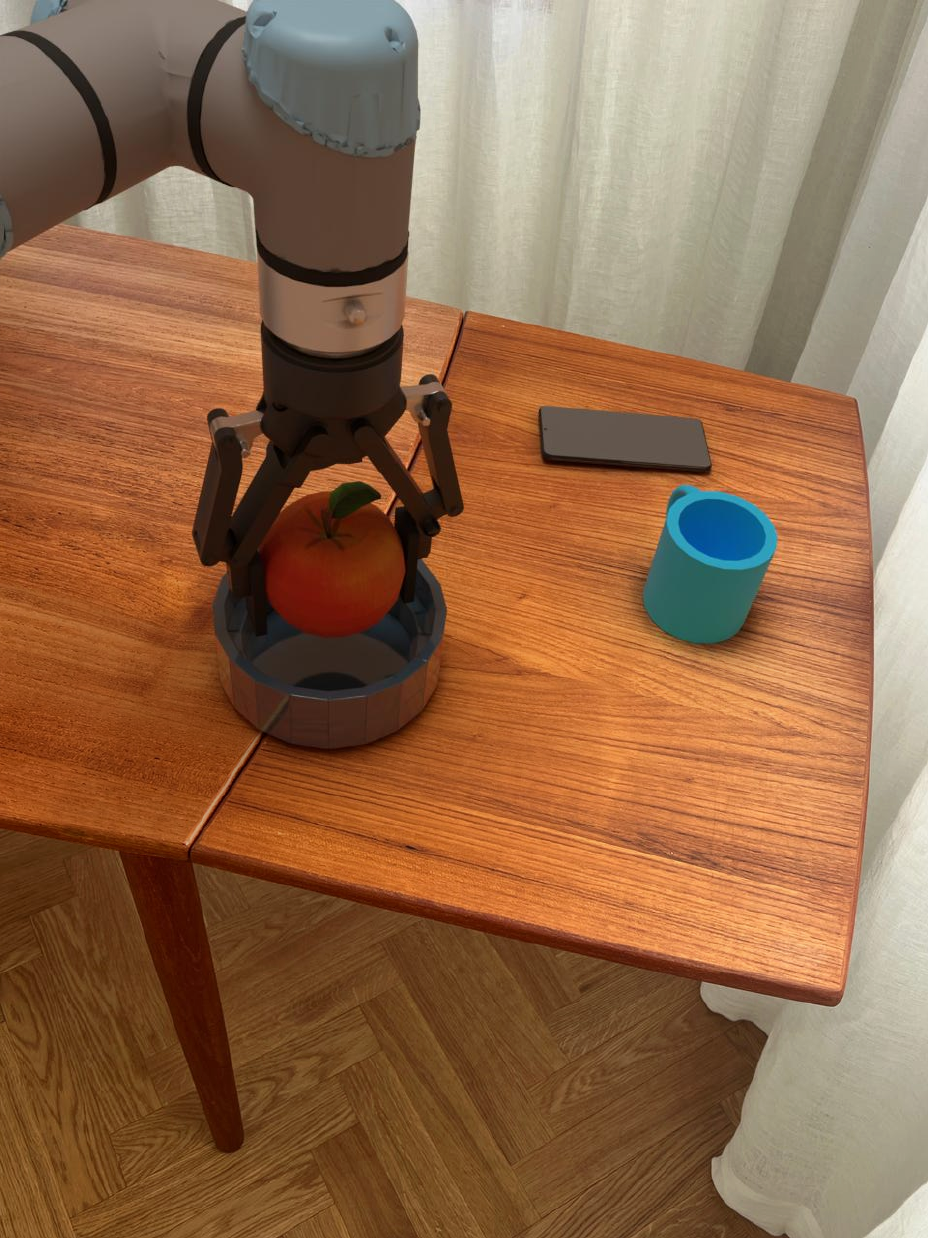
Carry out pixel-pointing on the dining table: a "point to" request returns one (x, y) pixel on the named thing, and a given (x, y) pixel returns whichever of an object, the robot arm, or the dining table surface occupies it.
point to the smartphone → (623, 439)
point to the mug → (708, 565)
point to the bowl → (332, 669)
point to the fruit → (333, 562)
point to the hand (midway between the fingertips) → (330, 604)
